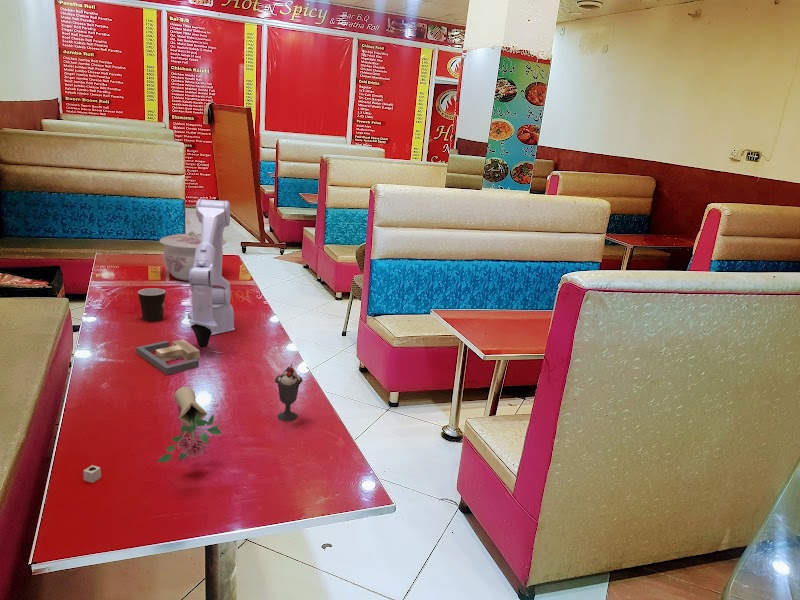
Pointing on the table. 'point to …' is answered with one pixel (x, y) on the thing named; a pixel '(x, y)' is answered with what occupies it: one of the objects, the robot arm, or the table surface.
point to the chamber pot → (181, 253)
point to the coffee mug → (152, 304)
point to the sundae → (288, 392)
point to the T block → (178, 351)
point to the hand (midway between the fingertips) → (203, 346)
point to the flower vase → (190, 426)
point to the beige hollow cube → (92, 474)
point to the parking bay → (160, 364)
